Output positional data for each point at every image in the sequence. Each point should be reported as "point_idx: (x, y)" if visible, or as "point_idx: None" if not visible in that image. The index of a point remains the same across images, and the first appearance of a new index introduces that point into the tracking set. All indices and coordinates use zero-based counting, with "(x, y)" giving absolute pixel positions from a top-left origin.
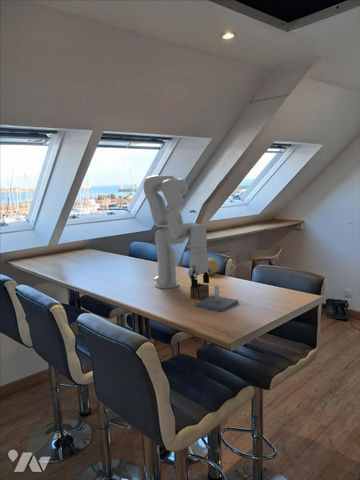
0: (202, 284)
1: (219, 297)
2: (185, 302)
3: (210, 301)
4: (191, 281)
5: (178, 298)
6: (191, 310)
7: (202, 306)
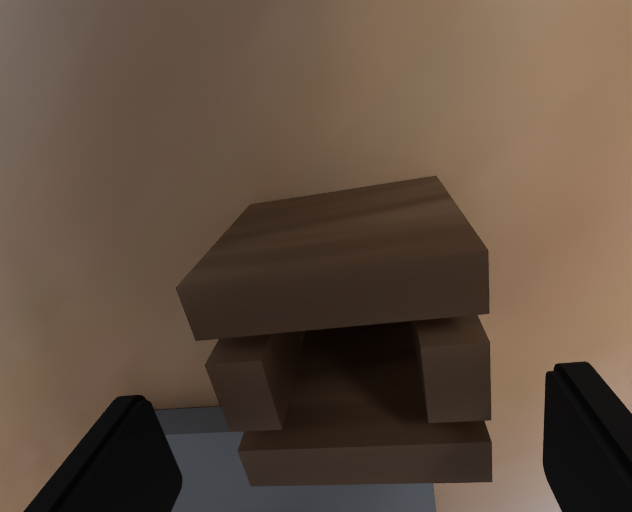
0: (442, 396)
1: (408, 502)
2: (108, 272)
3: (251, 499)
4: (35, 505)
5: (113, 82)
6: (50, 438)
7: None
